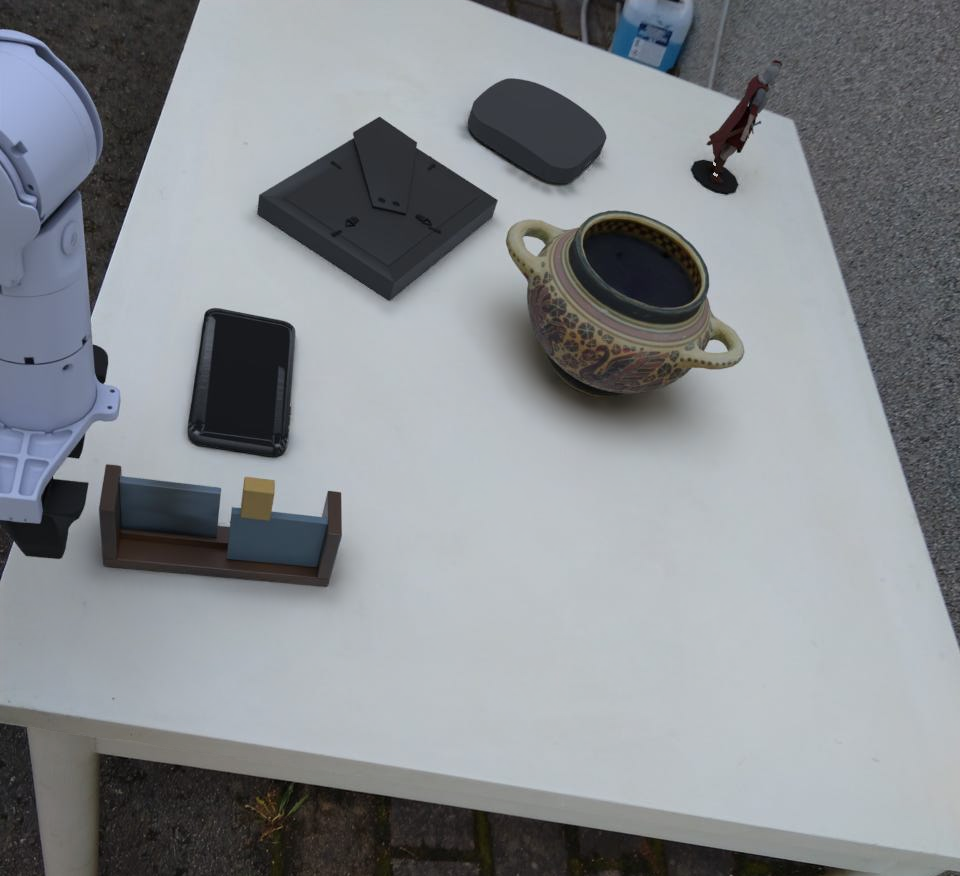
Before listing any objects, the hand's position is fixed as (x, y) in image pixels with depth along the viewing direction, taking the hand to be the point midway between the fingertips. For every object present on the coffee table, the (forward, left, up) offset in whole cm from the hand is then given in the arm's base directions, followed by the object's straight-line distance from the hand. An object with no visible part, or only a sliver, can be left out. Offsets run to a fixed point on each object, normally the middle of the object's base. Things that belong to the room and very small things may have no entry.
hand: (53, 501), depth 56 cm
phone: (-12, +22, -10) cm, 27 cm away
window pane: (+5, +13, -9) cm, 17 cm away
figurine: (-20, +97, -11) cm, 100 cm away
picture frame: (-27, +48, -11) cm, 56 cm away
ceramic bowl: (-1, +55, -11) cm, 56 cm away
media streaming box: (-33, +76, -11) cm, 84 cm away
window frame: (+2, +11, -10) cm, 15 cm away
